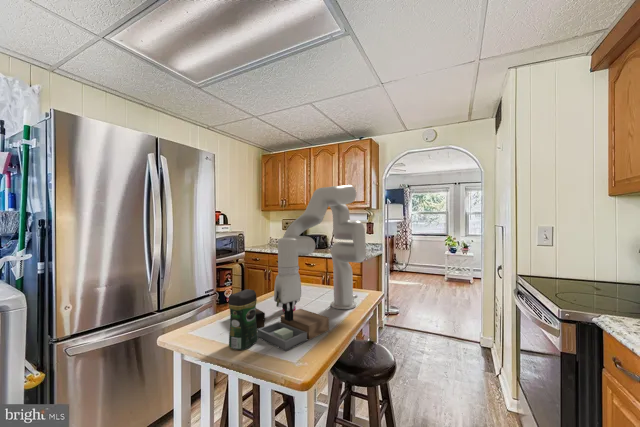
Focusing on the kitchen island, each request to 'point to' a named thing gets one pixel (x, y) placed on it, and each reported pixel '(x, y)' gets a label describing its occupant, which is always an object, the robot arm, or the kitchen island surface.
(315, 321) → the board
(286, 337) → the tile
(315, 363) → the kitchen island surface
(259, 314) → the beverage carton
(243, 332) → the coffee jar
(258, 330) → the tray
